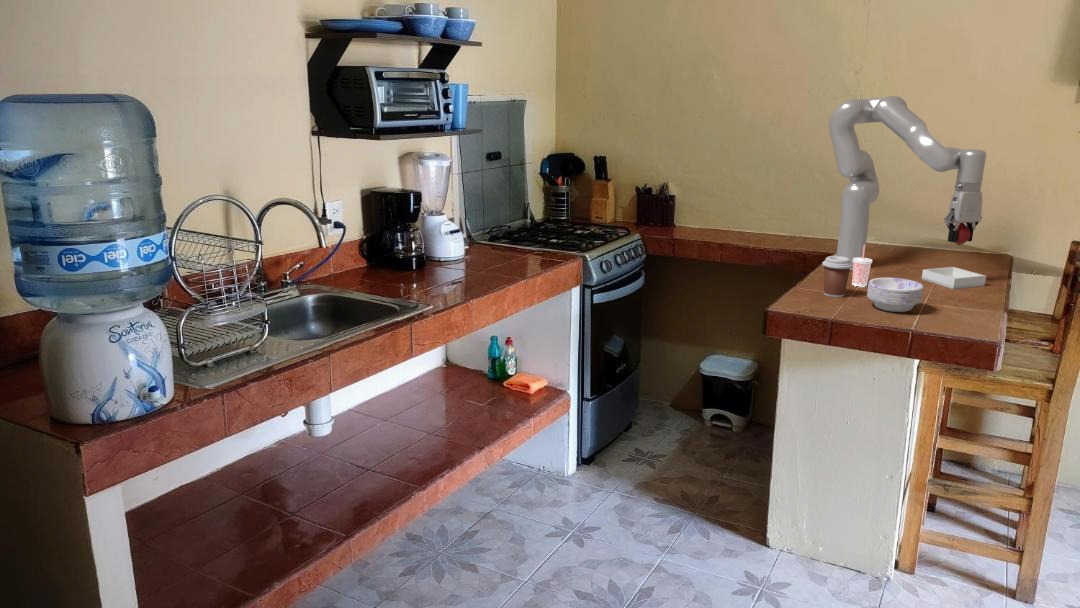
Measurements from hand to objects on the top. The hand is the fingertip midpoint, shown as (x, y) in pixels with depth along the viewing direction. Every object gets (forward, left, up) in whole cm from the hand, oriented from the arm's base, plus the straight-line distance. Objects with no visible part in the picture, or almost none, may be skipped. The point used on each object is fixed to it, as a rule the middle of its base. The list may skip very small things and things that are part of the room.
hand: (959, 240), depth 260 cm
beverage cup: (-34, +7, -15) cm, 37 cm away
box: (0, 0, -15) cm, 15 cm away
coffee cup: (-50, 0, -15) cm, 52 cm away
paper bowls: (-43, -18, -15) cm, 49 cm away
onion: (0, 0, -2) cm, 2 cm away
